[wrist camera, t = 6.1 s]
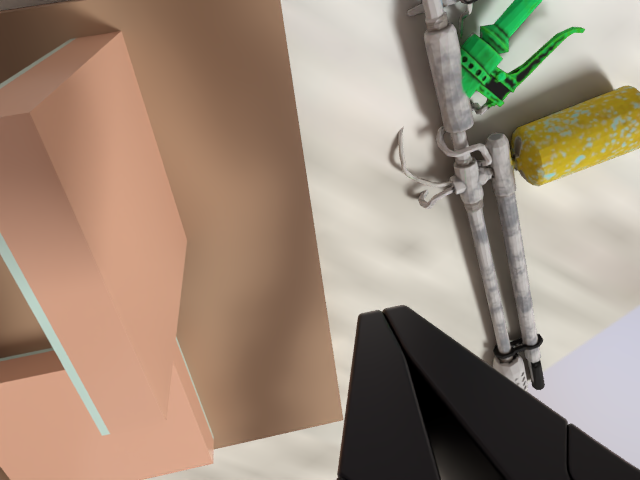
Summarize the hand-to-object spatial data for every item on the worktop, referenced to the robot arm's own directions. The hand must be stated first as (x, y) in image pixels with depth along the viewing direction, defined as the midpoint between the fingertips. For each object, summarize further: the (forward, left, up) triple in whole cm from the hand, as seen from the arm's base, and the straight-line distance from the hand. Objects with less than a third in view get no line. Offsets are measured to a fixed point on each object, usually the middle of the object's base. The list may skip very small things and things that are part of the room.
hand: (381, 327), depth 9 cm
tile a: (-7, -12, -11) cm, 17 cm away
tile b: (-6, 0, -11) cm, 13 cm away
